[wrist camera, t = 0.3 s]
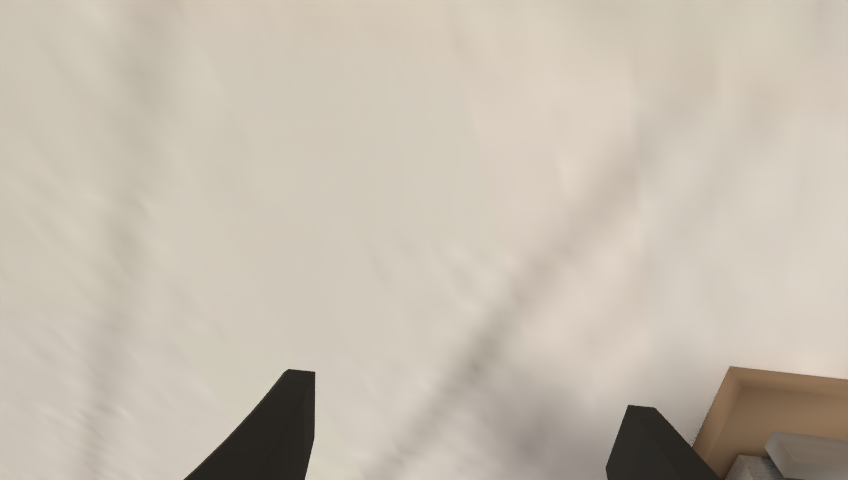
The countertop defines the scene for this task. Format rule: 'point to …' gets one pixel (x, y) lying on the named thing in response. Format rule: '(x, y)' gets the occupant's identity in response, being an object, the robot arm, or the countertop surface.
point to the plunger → (755, 469)
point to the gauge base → (778, 424)
